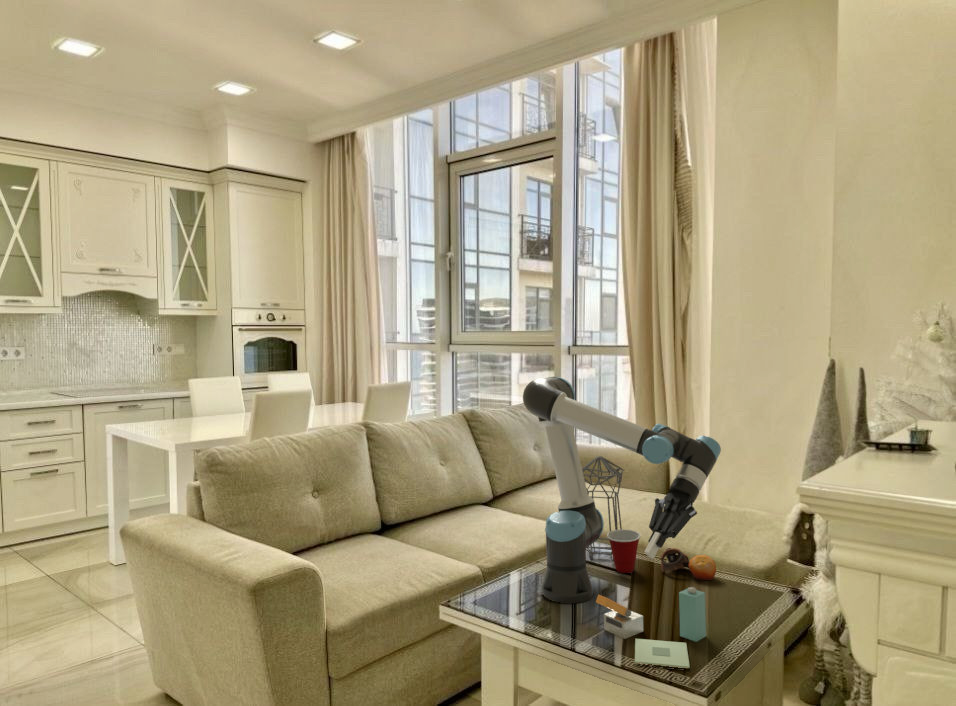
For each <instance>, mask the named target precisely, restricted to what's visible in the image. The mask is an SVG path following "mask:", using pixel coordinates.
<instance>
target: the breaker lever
mask: <svg viewBox="0 0 956 706" xmlns="http://www.w3.org/2000/svg"><path fill="white" fill-rule="evenodd" d="M595 603H597V604H598V605H601V606H602V607H604V608H606V609H609V610H610V611H614V612H617V613H619V614H621V615H624V616H628V617H630V616H631V611H632V610H630V609H629V608H628V607H626V606H624V605H622V604H620V603H618V602H616V601H614V600H612V599H610V598H608V597H606V596H603V595H601V594H597V598H596V599H595Z"/></svg>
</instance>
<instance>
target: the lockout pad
mask: <svg viewBox="0 0 956 706" xmlns="http://www.w3.org/2000/svg"><path fill="white" fill-rule="evenodd" d="M634 639H635V640H634V641H635V642H634V664H635V663H642V664H652V665H661V666H669V667H678V668H690V669H691V667H690V660H689V654H688V646H687V642H680V641H679V642H678V641H667V640H658V639H657V640H656V639H655V640H654V639H645V638H634Z"/></svg>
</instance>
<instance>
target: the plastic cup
mask: <svg viewBox="0 0 956 706" xmlns="http://www.w3.org/2000/svg"><path fill="white" fill-rule="evenodd" d="M606 538H609V540H608V541H609V543H610V547H611V549H612V550H611V551H612V554H613V555H612V559H614V560H613V561H614V567H615V571H616V570H617V571H616V572H618V573H623V574H629V573H630V574H631V573H633V572H634V570H635V566H636V564H635V563H636V560H637V553H638V548H639V547H638V546H639V542H640V539H641V533H640V532H639V531H636V530H632V529H627V528H626V529H623V528H622V530H620V529H618V530H615V529H613V530H611V532H610V531H609V532H608V533H607V534H606Z"/></svg>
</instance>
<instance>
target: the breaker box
mask: <svg viewBox="0 0 956 706" xmlns="http://www.w3.org/2000/svg"><path fill="white" fill-rule="evenodd" d="M630 611H631V616H630V617H628V616H624V615H621V614H619V613H617V612H614V611H612V610H610V611H608V612H605V613H603V630H604V631H606V632H608V633H611V634H613V635H615V636H617V637H619V638H622V639H624V640H626V639H628V638H630V637H633V636H635V635H638V634H640V633H643V632H644V615H642V614H640V613H637V612H635V611H632V610H630Z"/></svg>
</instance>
